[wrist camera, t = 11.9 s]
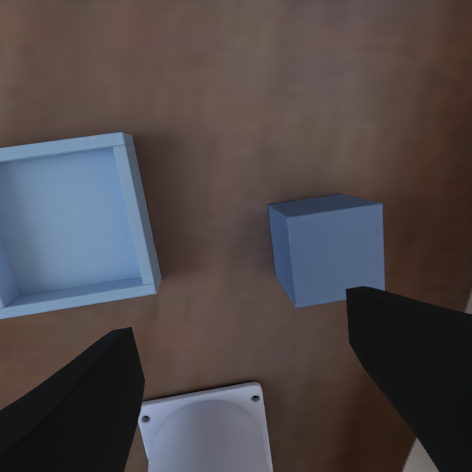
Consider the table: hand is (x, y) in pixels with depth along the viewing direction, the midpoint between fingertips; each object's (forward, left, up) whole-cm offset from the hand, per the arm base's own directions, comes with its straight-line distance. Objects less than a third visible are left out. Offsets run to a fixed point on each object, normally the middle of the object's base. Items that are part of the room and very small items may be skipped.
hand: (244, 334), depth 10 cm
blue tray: (+3, +8, -8) cm, 12 cm away
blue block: (+1, -5, -8) cm, 10 cm away
